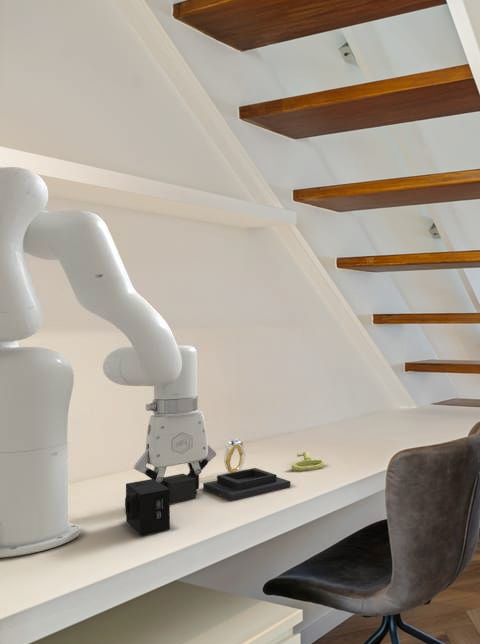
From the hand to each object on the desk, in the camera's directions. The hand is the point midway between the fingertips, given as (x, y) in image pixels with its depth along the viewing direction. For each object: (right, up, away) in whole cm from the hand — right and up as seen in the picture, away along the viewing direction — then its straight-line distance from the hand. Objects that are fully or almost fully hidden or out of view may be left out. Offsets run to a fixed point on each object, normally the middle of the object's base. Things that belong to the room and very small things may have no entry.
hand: (177, 496), depth 119 cm
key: (+16, -1, +26) cm, 30 cm away
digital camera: (+4, 0, -17) cm, 17 cm away
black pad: (0, 0, 0) cm, 0 cm away
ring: (+2, -1, +19) cm, 19 cm away
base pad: (+11, 0, +7) cm, 13 cm away
